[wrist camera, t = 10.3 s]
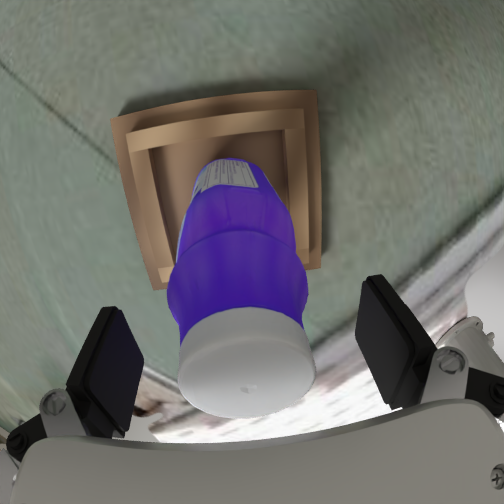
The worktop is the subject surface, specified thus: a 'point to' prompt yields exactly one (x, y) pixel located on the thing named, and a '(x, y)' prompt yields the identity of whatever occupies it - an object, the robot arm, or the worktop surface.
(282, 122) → the walnut base
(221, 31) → the worktop surface
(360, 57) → the worktop surface
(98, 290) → the worktop surface
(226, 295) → the bottle
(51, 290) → the worktop surface
